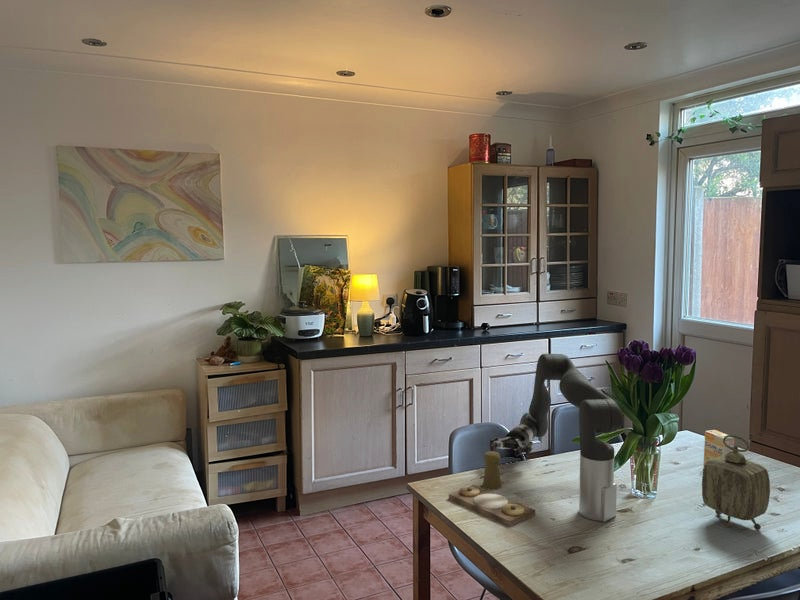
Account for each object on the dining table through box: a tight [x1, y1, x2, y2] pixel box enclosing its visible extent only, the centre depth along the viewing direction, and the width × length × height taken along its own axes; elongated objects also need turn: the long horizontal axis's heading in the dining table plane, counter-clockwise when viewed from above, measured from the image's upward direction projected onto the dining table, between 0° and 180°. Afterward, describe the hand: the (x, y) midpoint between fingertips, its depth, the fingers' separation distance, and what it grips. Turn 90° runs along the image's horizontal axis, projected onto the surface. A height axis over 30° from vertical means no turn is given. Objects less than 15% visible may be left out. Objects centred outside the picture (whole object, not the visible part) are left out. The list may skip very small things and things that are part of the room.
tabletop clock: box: [701, 434, 771, 531], centre depth 162 cm, size 14×9×25 cm, turn 32°
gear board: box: [448, 484, 536, 527], centre depth 175 cm, size 24×11×3 cm, turn 40°
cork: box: [482, 450, 502, 490], centre depth 190 cm, size 6×6×11 cm
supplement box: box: [702, 429, 735, 468], centre depth 201 cm, size 8×5×13 cm, turn 17°
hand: (503, 451), depth 200 cm, fingers open, 8 cm apart
